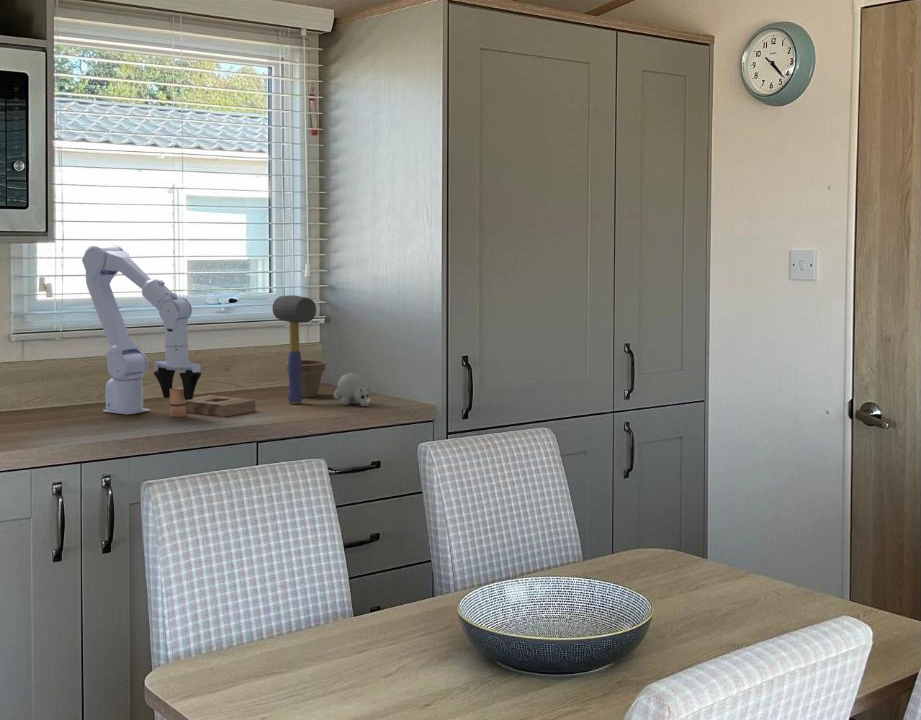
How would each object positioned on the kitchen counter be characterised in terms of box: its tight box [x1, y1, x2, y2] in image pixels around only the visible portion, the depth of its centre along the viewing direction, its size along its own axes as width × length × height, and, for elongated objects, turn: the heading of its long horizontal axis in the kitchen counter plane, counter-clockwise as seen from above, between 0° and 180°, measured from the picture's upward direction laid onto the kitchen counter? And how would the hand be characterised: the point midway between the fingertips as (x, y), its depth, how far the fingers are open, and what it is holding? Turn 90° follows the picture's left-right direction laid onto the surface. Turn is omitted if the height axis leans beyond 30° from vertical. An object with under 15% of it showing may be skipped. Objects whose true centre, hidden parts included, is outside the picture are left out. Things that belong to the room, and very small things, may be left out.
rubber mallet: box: [271, 295, 317, 405], centre depth 311 cm, size 12×8×30 cm, turn 43°
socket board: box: [186, 394, 256, 418], centre depth 299 cm, size 16×12×3 cm
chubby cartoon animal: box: [333, 372, 371, 407], centre depth 310 cm, size 7×12×8 cm, turn 45°
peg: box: [169, 387, 187, 418], centre depth 291 cm, size 4×4×7 cm
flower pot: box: [285, 359, 327, 399], centre depth 327 cm, size 12×11×10 cm
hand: (178, 398), depth 291 cm, fingers open, 7 cm apart
